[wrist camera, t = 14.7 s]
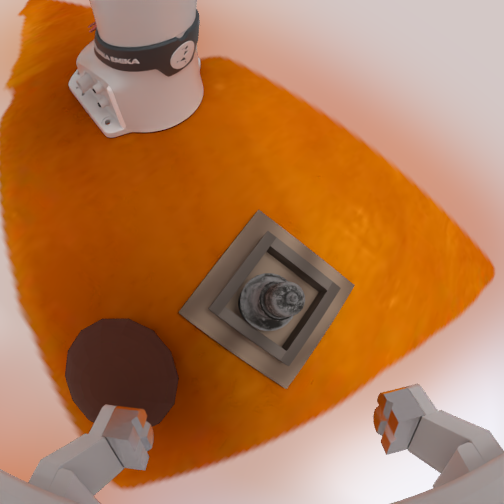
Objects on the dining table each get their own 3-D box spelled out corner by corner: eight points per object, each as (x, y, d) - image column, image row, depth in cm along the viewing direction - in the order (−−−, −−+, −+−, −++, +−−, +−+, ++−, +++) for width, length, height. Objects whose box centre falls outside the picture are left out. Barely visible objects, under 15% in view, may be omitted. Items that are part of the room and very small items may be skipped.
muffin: (145, 431, 29) (129, 468, 20) (71, 373, 29) (32, 390, 19) (201, 356, 32) (202, 373, 23) (123, 296, 32) (95, 289, 23)
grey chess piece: (265, 266, 35) (299, 243, 23) (297, 306, 34) (345, 301, 23) (224, 299, 33) (239, 292, 22) (258, 340, 33) (290, 353, 21)
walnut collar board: (178, 312, 33) (176, 312, 30) (257, 212, 37) (263, 202, 34) (284, 387, 33) (292, 394, 30) (350, 286, 37) (364, 283, 34)
